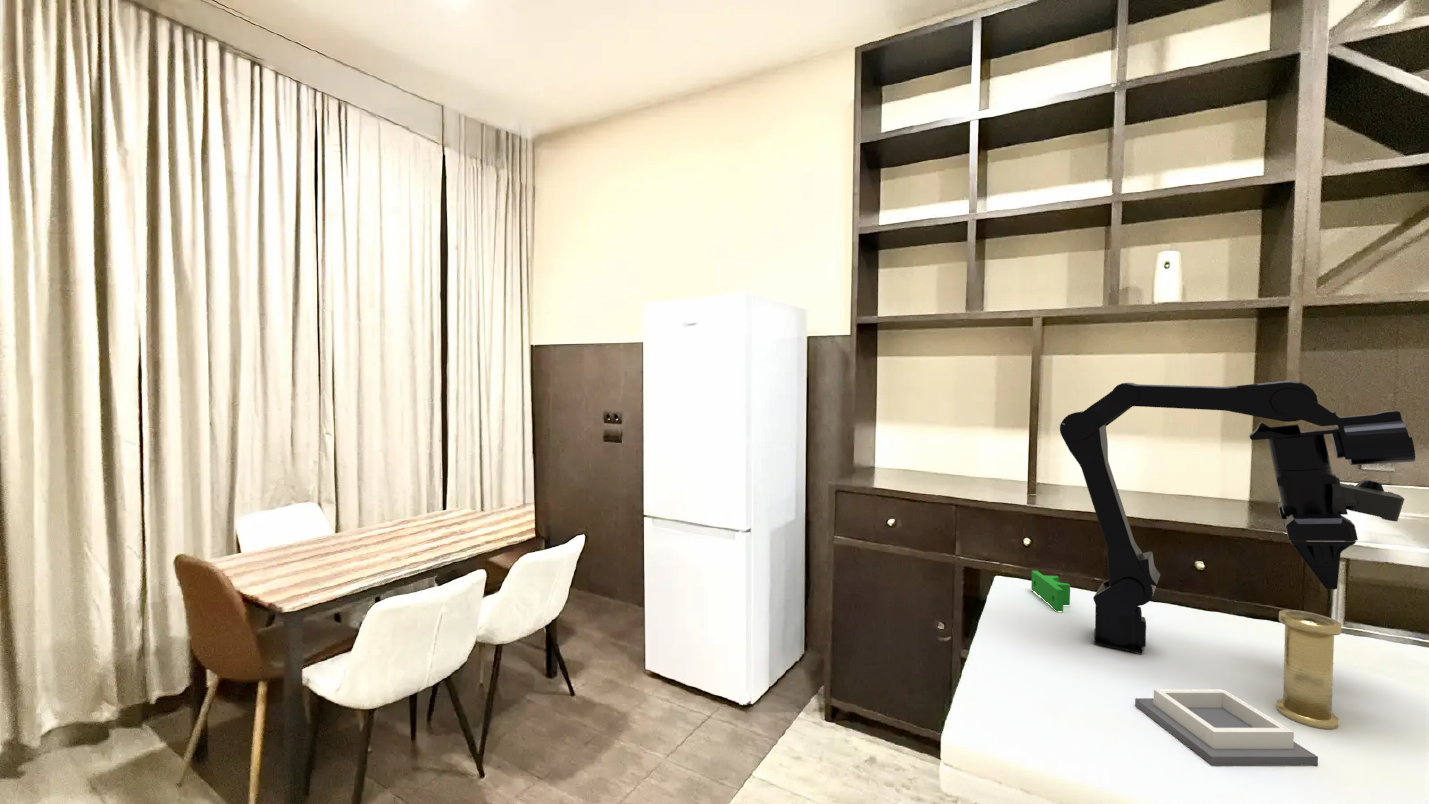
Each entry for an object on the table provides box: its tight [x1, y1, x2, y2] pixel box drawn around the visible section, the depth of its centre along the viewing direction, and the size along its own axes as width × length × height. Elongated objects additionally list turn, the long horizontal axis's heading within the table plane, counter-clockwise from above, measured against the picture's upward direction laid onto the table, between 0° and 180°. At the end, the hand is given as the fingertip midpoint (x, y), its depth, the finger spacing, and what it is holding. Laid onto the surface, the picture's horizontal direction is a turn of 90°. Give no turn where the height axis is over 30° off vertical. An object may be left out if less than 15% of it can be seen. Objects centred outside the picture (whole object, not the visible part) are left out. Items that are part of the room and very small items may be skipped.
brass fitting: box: [1275, 609, 1342, 731], centre depth 74 cm, size 6×6×13 cm
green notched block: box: [1030, 570, 1071, 612], centre depth 113 cm, size 11×4×5 cm, turn 173°
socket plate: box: [1134, 688, 1319, 766], centre depth 71 cm, size 12×12×3 cm
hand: (1327, 580), depth 79 cm, fingers open, 9 cm apart
